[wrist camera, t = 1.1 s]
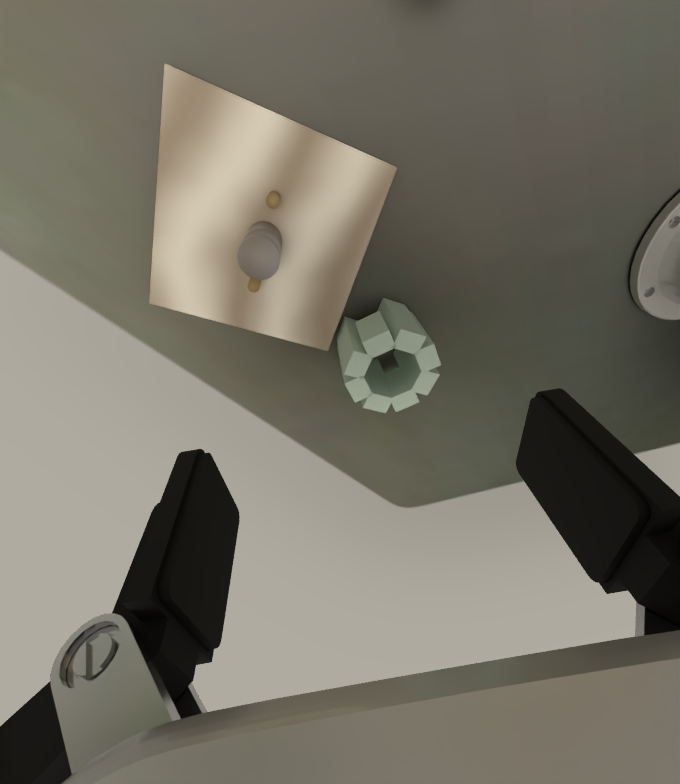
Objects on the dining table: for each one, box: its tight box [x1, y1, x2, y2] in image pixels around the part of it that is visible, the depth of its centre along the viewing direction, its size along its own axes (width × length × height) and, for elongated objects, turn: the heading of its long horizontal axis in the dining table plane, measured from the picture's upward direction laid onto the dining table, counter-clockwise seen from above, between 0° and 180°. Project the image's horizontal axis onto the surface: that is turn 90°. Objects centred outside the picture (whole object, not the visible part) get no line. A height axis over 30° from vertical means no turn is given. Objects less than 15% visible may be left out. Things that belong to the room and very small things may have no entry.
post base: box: [149, 64, 397, 351], centre depth 23 cm, size 14×14×6 cm
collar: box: [336, 298, 441, 413], centre depth 28 cm, size 7×7×6 cm
